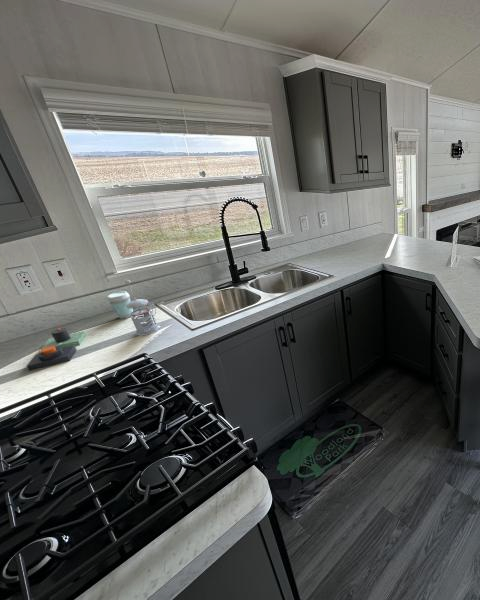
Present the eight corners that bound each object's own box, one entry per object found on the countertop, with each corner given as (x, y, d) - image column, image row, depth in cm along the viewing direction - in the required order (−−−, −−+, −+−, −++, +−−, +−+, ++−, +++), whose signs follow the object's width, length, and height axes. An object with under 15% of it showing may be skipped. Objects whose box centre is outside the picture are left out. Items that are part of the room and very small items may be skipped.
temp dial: (69, 340, 140) (63, 330, 138) (54, 343, 138) (48, 334, 136) (72, 335, 144) (67, 326, 142) (57, 338, 142) (52, 329, 140)
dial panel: (42, 353, 136) (40, 349, 135) (51, 342, 143) (49, 338, 143) (80, 345, 141) (77, 340, 140) (86, 334, 149) (84, 330, 148)
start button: (41, 356, 127) (38, 352, 126) (45, 351, 130) (42, 347, 129) (54, 353, 129) (52, 349, 128) (58, 348, 132) (56, 344, 131)
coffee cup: (140, 313, 166) (131, 292, 161) (122, 321, 159) (112, 299, 154) (131, 310, 170) (122, 289, 165) (112, 318, 163) (102, 296, 158)
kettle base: (29, 370, 125) (23, 362, 123) (38, 358, 132) (33, 350, 130) (70, 360, 130) (65, 352, 128) (76, 350, 137) (72, 341, 135)
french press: (129, 335, 147) (106, 283, 136) (151, 322, 157) (131, 274, 147) (147, 336, 145) (126, 284, 135) (168, 323, 156) (150, 274, 145)
